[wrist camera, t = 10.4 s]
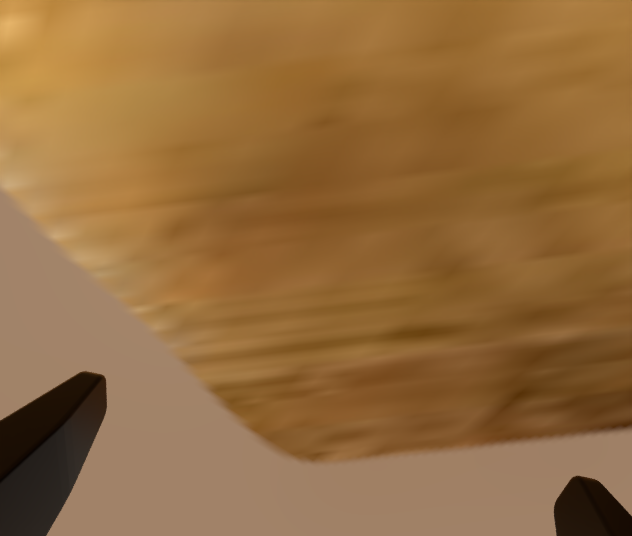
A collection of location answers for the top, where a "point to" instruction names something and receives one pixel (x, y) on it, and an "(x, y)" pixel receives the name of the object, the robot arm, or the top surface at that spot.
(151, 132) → the top surface
